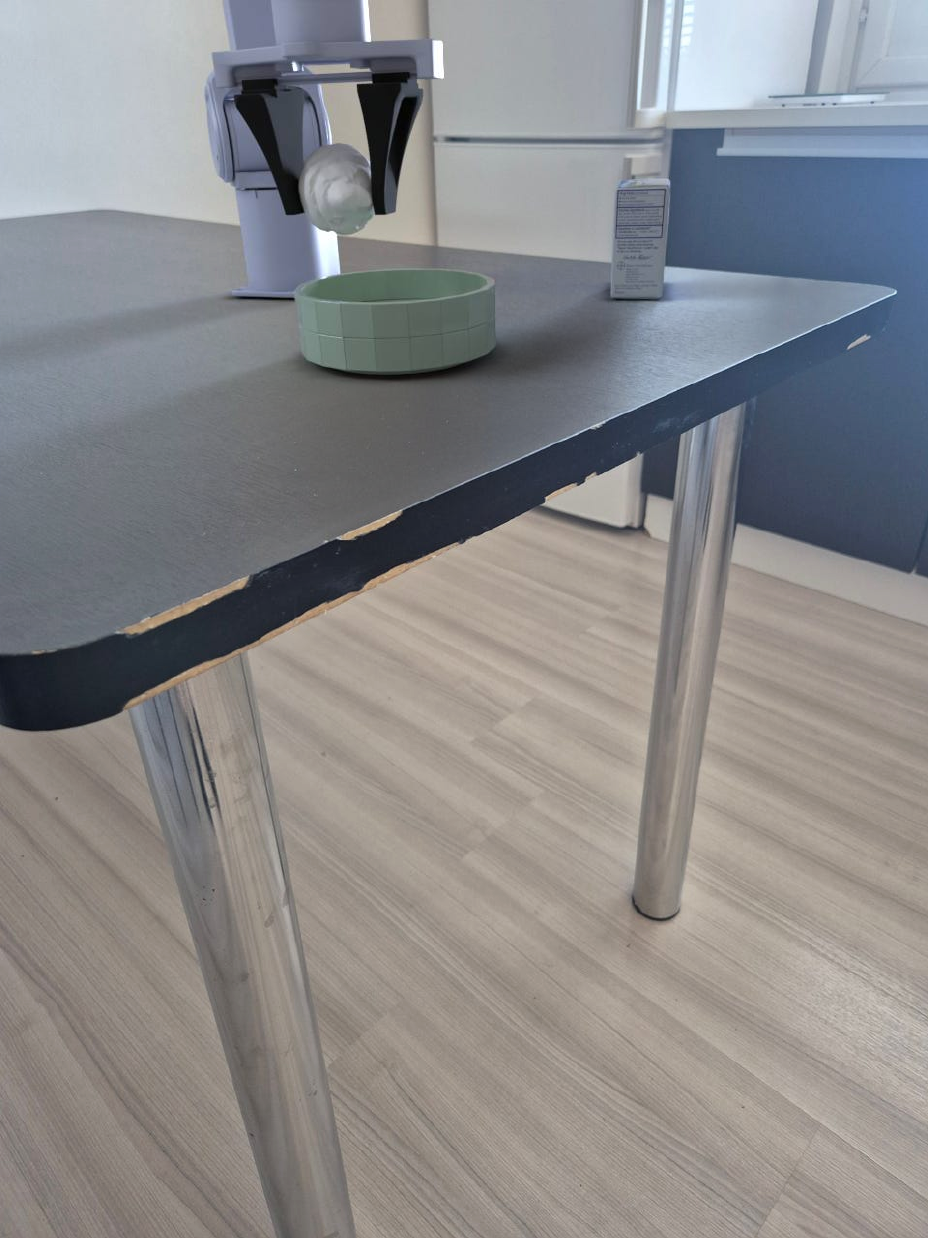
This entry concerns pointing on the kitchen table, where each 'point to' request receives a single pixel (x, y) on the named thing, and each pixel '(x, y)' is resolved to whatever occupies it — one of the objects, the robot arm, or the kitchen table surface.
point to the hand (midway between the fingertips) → (339, 213)
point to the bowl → (396, 320)
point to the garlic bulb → (337, 189)
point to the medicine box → (639, 238)
